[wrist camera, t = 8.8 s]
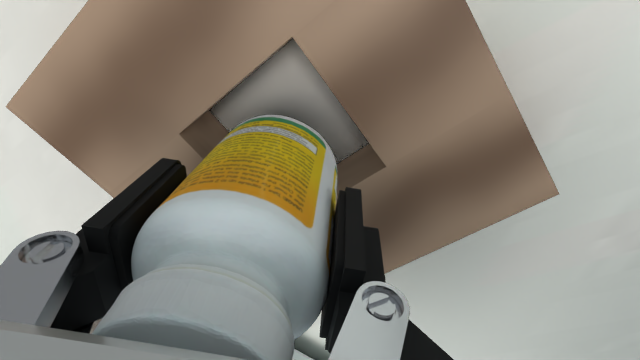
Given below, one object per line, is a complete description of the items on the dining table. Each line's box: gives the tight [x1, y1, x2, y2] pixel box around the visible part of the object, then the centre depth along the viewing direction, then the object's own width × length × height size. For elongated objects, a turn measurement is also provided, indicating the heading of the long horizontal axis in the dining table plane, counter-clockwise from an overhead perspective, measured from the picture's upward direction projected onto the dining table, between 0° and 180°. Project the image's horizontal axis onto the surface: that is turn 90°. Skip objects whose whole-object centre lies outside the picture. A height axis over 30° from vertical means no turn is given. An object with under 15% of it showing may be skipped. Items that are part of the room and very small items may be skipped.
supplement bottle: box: [92, 115, 337, 360], centre depth 10 cm, size 5×5×10 cm
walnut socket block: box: [6, 0, 559, 274], centre depth 18 cm, size 20×20×4 cm
